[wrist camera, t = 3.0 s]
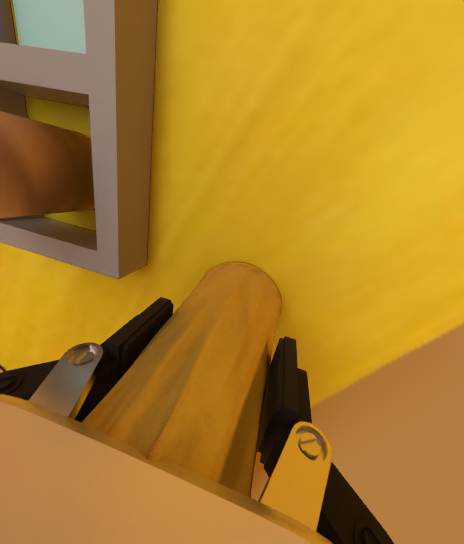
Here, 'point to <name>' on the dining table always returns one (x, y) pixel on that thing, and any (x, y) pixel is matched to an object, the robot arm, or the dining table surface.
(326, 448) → the robot arm
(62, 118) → the dining table surface
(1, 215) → the walnut peg
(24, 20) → the slot rack
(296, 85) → the dining table surface
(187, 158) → the dining table surface
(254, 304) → the vase
